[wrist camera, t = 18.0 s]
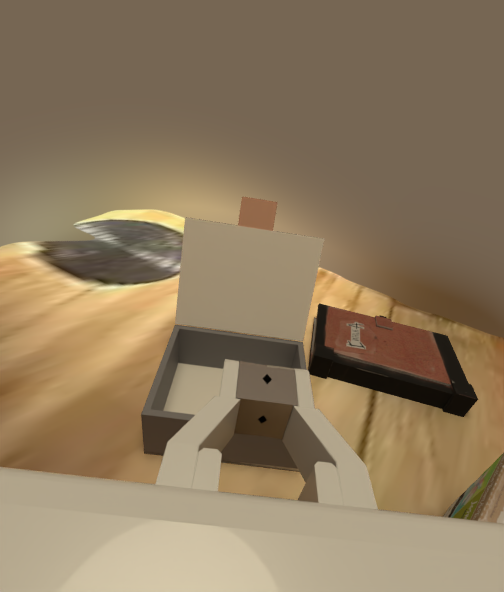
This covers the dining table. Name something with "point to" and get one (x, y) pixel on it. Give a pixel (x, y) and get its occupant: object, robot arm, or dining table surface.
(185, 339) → the box
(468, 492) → the tea box
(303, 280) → the lid
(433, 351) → the book
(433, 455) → the dining table surface
